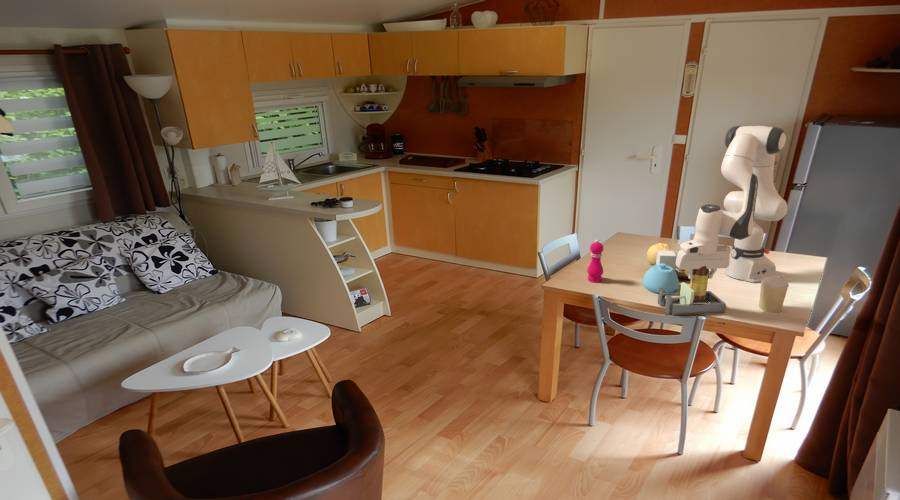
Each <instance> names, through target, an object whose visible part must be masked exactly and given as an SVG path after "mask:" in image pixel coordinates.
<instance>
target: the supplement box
mask: <svg viewBox="0 0 900 500" xmlns="http://www.w3.org/2000/svg"><path fill="white" fill-rule="evenodd" d="M676 258H677V254H676V252H675V251H674V250H672V251H657V259H656V265H659V264H660V263H664V264H666V265H667V266H670V267H672V268H673V270H674V271H675V272H676V267H677V266H676Z"/></svg>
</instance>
